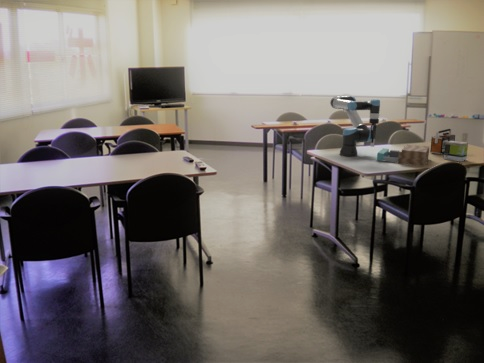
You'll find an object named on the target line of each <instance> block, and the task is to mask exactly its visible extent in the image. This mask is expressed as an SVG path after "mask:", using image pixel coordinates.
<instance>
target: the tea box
mask: <svg viewBox="0 0 484 363" xmlns="http://www.w3.org/2000/svg"><path fill="white" fill-rule="evenodd" d="M468 147H469V143H468V142H466V141H465V142H464V141H456V140H455V141H448V142H446V143H445V152H444V153H443V154H444V156H443V159H444V160H450V161H457V162H464V160H465V161H467V158H468V157H467V156H468Z"/></svg>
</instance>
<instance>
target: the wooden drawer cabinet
mask: <svg viewBox="0 0 484 363" xmlns="http://www.w3.org/2000/svg"><path fill="white" fill-rule="evenodd" d="M430 148H431V145H430V146H428V145H417V144H415V145H414V144H406V145H405V146H403V148H402V150H401V151H400V150H398V151H399V157H398V162H397V164H401V165H402V164H403V165H411V166H419V167H420V166H421V167H422V166H423V167H424V166H425V165H426V164H427V163H428V161H429V155H430Z"/></svg>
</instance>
